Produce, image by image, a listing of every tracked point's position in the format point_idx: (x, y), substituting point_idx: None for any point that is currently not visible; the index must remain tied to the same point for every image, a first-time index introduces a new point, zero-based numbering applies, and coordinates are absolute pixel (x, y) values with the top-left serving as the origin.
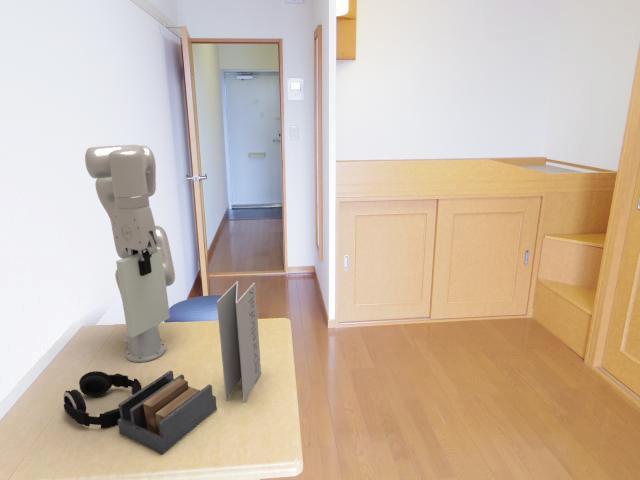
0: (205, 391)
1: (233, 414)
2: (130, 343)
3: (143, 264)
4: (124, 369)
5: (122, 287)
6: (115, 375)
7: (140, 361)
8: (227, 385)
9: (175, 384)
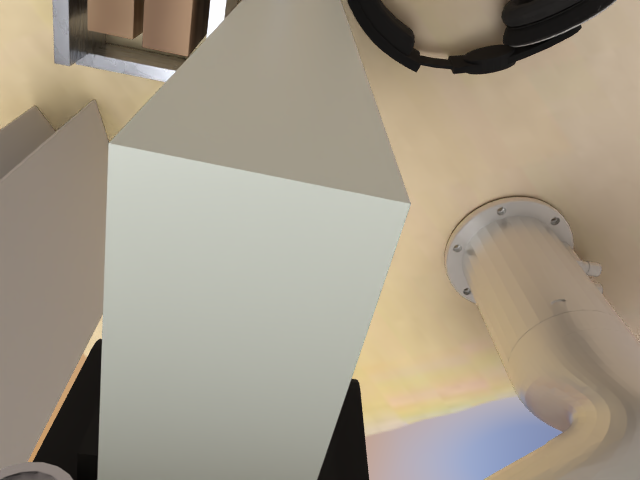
0: (55, 26)
1: (24, 43)
2: (555, 241)
3: (84, 427)
4: (527, 154)
5: (302, 21)
6: (499, 58)
7: (494, 202)
8: (80, 130)
9: (171, 11)
